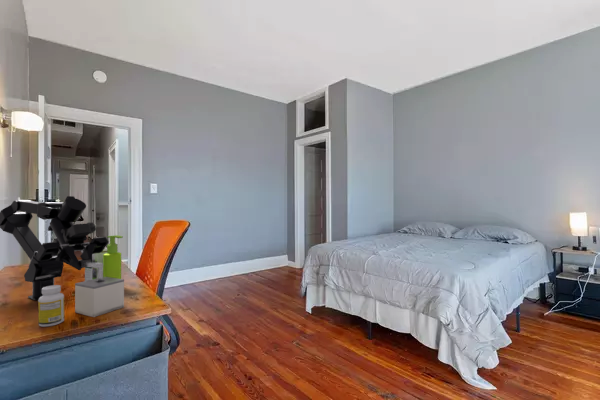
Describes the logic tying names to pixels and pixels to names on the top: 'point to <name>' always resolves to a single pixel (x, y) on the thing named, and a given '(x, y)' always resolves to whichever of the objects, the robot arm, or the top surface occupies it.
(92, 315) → the slotted grey box
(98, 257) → the syrup box
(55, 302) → the supplement bottle
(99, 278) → the plunger
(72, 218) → the robot arm
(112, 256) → the soap dispenser
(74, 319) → the top surface
